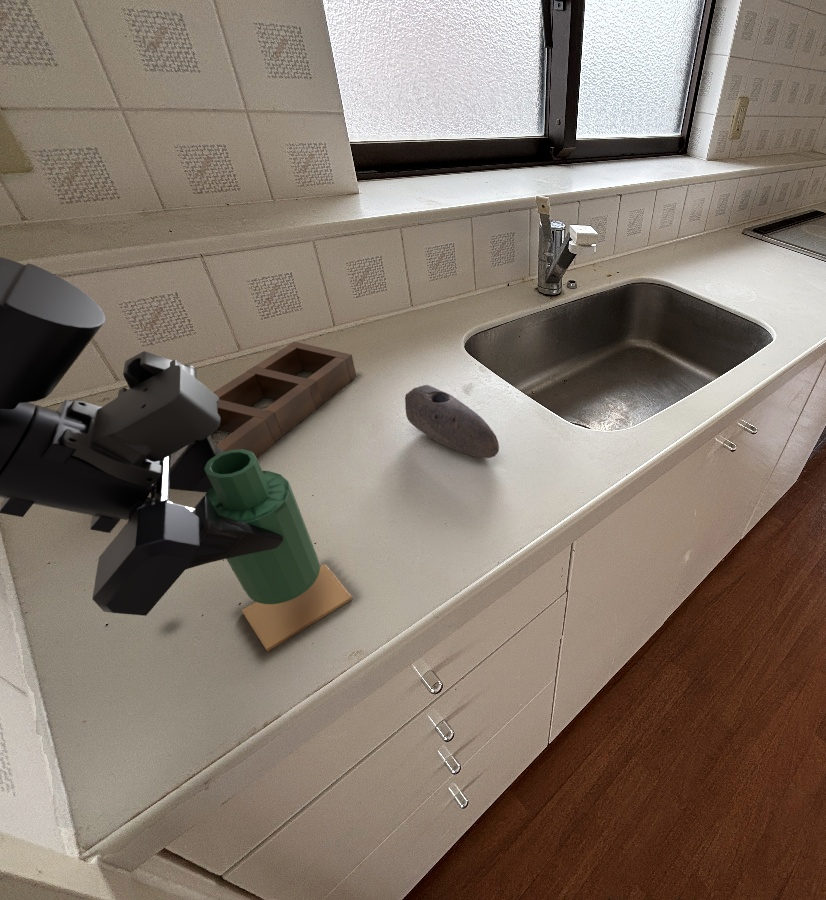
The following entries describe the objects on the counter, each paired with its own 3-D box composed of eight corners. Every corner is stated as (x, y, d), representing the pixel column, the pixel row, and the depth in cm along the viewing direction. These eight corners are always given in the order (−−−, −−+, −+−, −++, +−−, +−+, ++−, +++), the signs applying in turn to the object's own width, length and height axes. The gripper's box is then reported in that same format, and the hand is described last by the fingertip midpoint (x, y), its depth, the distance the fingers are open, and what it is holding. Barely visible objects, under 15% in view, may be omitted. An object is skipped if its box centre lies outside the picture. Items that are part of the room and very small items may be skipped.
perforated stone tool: (509, 456, 69) (509, 416, 65) (484, 476, 66) (482, 435, 61) (432, 415, 75) (427, 375, 70) (404, 431, 71) (397, 390, 67)
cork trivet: (267, 651, 45) (266, 649, 45) (242, 612, 48) (240, 610, 47) (352, 599, 50) (351, 596, 50) (325, 565, 53) (325, 563, 52)
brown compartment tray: (224, 484, 60) (211, 459, 57) (151, 465, 61) (135, 440, 58) (356, 376, 80) (351, 354, 78) (300, 363, 81) (294, 341, 79)
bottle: (228, 593, 44) (159, 478, 35) (279, 543, 49) (229, 430, 40) (288, 612, 43) (232, 500, 34) (334, 560, 48) (295, 449, 39)
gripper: (59, 441, 23) (360, 525, 35) (103, 285, 34) (318, 389, 47) (-69, 605, 24) (264, 631, 36) (15, 402, 36) (246, 473, 48)
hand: (276, 516), depth 42 cm, fingers closed on bottle, 6 cm apart
